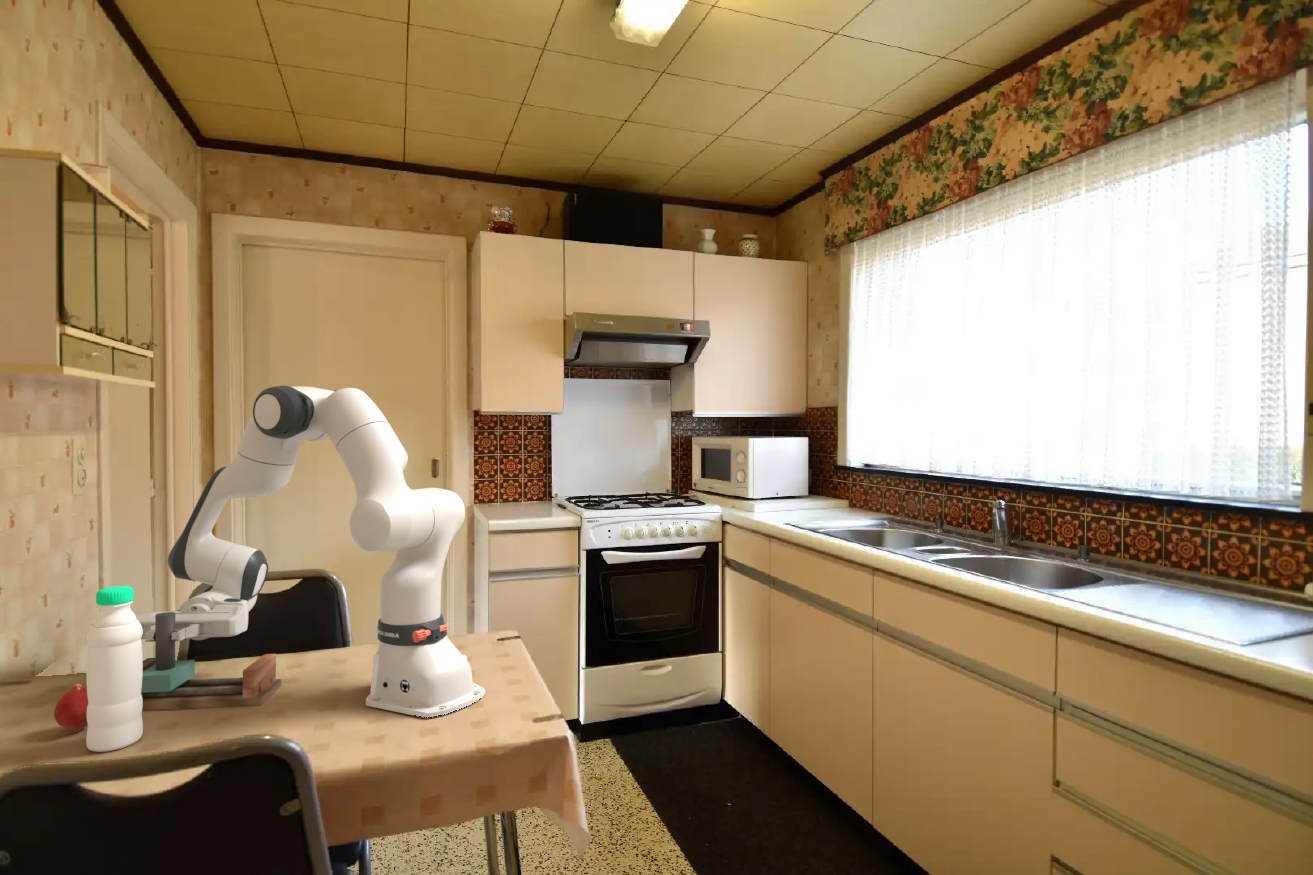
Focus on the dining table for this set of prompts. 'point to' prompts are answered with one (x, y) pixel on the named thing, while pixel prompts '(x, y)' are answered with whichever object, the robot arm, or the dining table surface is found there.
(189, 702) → the rail
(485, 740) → the dining table surface
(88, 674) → the white bottle
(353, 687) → the dining table surface
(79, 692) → the onion
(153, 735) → the dining table surface
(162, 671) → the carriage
